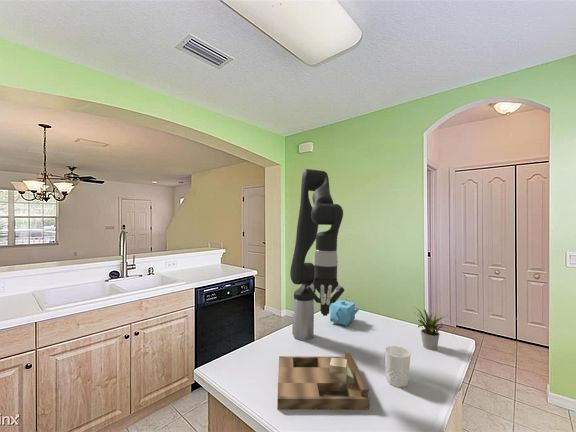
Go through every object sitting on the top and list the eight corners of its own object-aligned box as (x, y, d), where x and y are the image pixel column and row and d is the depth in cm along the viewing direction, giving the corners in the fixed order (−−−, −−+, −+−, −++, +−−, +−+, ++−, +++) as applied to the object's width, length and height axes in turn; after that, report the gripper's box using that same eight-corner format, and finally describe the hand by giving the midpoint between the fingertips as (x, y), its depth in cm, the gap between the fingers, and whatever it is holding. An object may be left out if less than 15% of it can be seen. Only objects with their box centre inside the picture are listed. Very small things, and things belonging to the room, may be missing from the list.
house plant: (401, 344, 121) (401, 306, 121) (418, 336, 129) (418, 300, 129) (435, 357, 109) (435, 315, 109) (451, 348, 117) (452, 309, 117)
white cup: (408, 377, 96) (409, 348, 96) (411, 390, 88) (411, 359, 88) (384, 373, 98) (384, 344, 98) (384, 385, 91) (384, 354, 91)
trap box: (277, 409, 79) (277, 391, 79) (279, 364, 103) (279, 350, 103) (369, 409, 79) (369, 391, 79) (349, 364, 103) (349, 351, 103)
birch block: (329, 381, 88) (329, 365, 88) (331, 372, 93) (331, 357, 93) (345, 383, 87) (345, 367, 87) (346, 374, 91) (346, 359, 91)
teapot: (353, 331, 134) (353, 307, 134) (319, 323, 144) (319, 301, 144) (363, 321, 147) (363, 299, 147) (332, 314, 157) (332, 294, 157)
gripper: (343, 261, 98) (342, 311, 98) (305, 261, 98) (304, 310, 98) (348, 266, 90) (346, 319, 90) (306, 265, 90) (305, 318, 91)
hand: (324, 314), depth 94 cm, fingers closed
